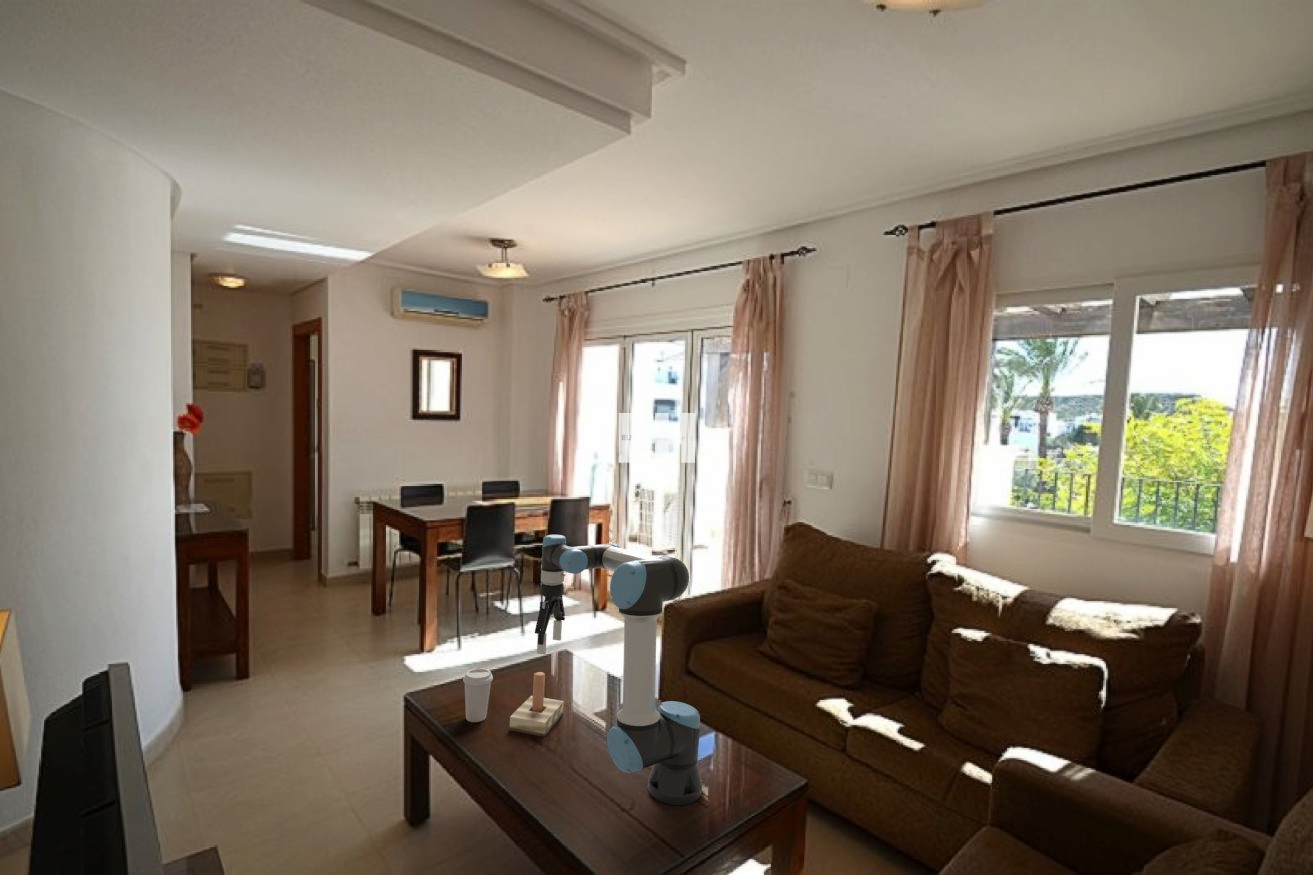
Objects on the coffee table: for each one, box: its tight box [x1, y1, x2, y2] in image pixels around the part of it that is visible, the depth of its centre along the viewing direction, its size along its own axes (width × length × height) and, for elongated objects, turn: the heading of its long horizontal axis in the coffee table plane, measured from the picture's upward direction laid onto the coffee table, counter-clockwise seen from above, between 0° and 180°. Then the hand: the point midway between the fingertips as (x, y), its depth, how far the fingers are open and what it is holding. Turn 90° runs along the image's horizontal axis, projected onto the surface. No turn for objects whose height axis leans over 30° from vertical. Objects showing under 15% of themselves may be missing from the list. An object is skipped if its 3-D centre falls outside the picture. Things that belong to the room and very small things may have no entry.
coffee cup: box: [462, 667, 494, 723], centre depth 208 cm, size 10×10×15 cm
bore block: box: [509, 695, 565, 738], centre depth 207 cm, size 16×12×4 cm
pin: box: [532, 671, 546, 713], centre depth 207 cm, size 4×4×15 cm
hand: (549, 646), depth 206 cm, fingers open, 13 cm apart
